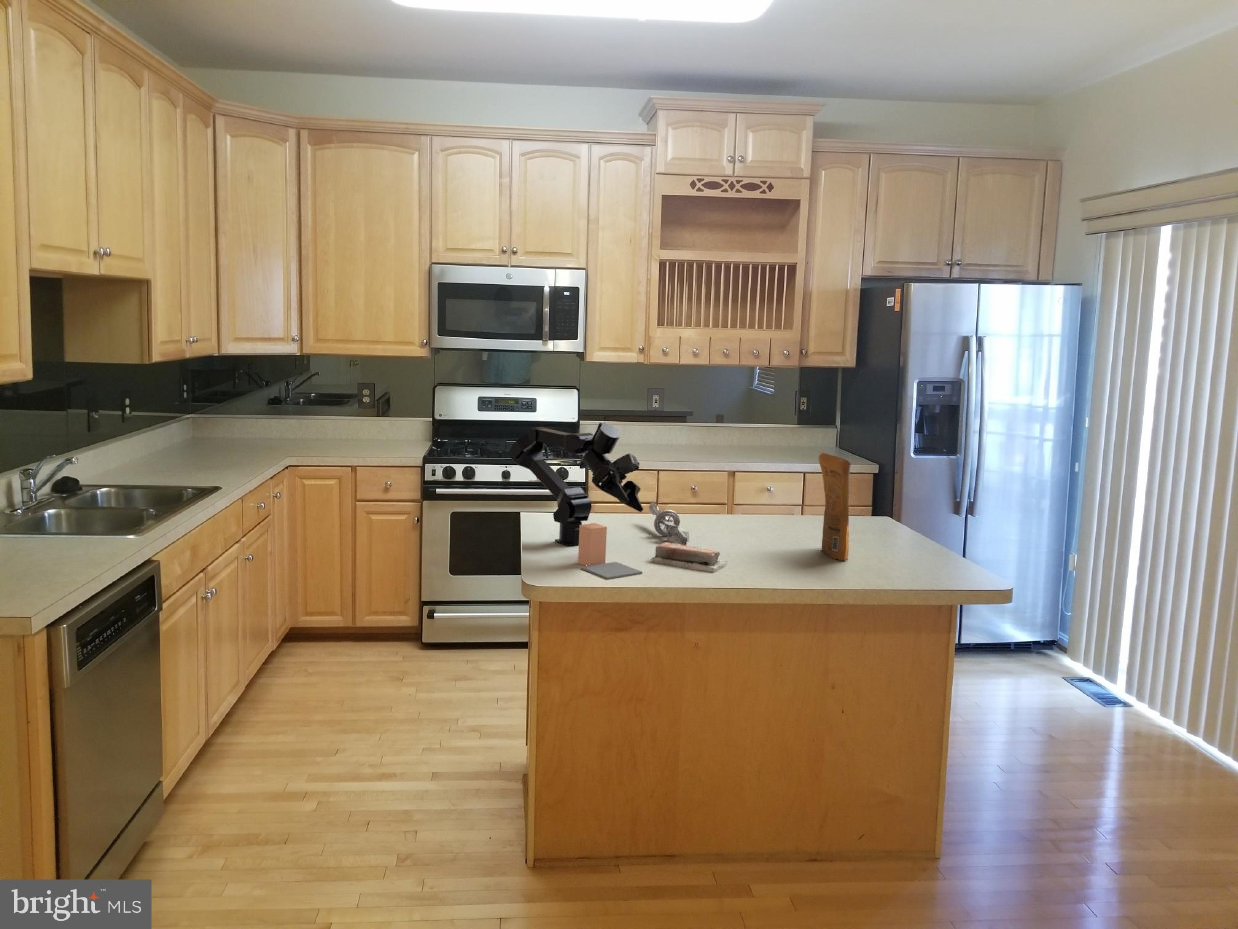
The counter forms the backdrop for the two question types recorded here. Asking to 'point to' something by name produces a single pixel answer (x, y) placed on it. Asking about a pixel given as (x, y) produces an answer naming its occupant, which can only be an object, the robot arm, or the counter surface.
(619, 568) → the gray square plate
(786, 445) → the counter surface
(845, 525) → the pancake mix bag
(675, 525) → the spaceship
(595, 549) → the terracotta block
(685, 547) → the packaged product
